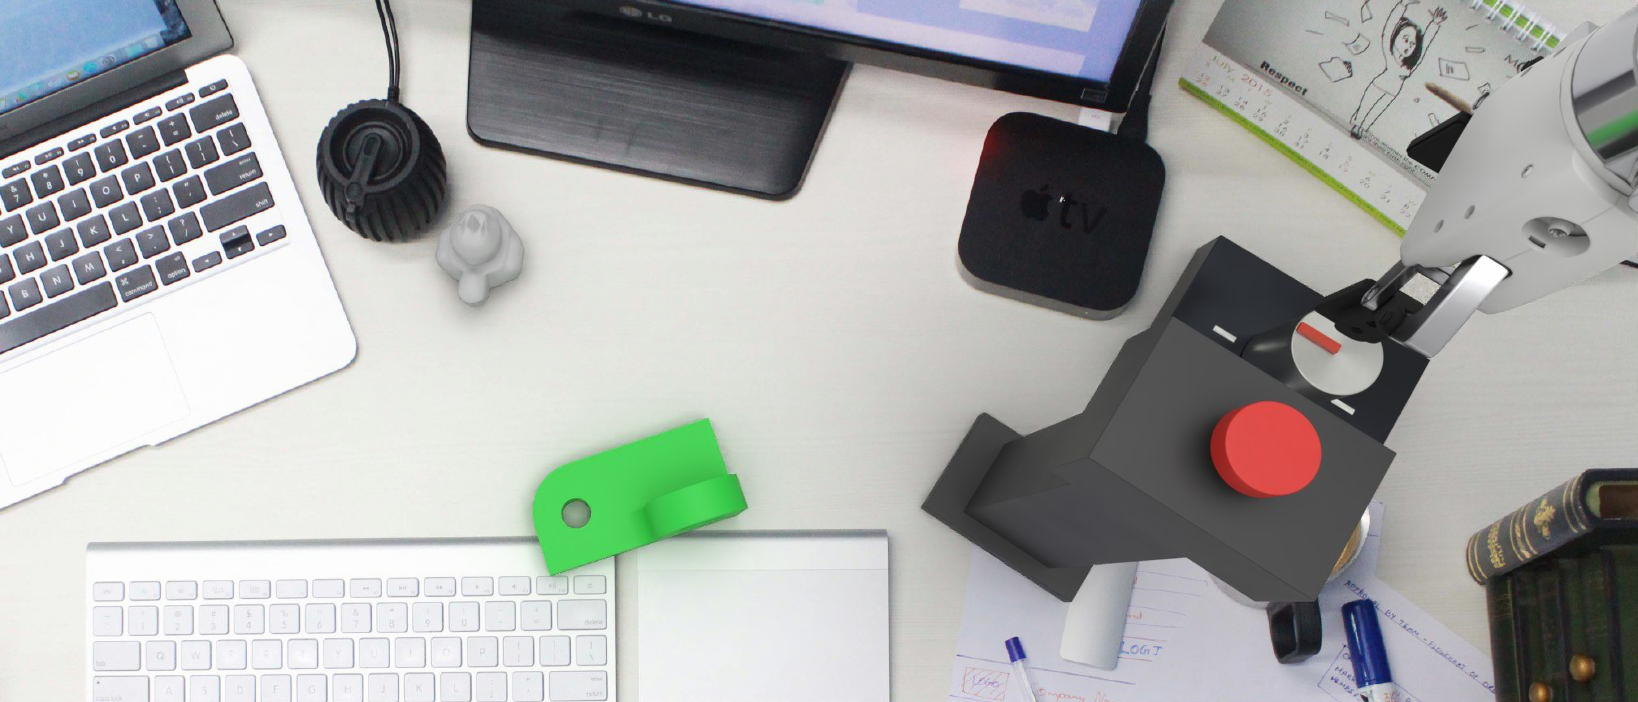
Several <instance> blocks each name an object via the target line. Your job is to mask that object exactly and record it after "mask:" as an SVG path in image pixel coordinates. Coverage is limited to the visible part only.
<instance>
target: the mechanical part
mask: <svg viewBox="0 0 1638 702" xmlns="http://www.w3.org/2000/svg"><path fill="white" fill-rule="evenodd" d="M728 471H729V470H728V469H727V466H726V463H725V460H724V458H723V455H722V452H721V449H720V445H719V442H718V440H717V437H716V434H715V431H714V429H713V426H712V423H711V420H710V417H706V418H703V419H700V420H696V421H694V422H693V421H692V422H691V423H688V424H687V423H686V424H685V425H681V426H679V427H676V428H672V429H669V430H666V431H663V432H660V433H657V434H653V435H650V436H647V437H645V438H641V439H638V440H635V441H631V442H629V443H626V444H623V445H620V446H617V447H614V448H610V449H608V450H605V451H601V452H598V453H595V454H591V455H589V456H586V457H583V458H580V459H577V460H574V461H570V462H568V463H564V464H562V465H560V466H558V467H557V468H555V469H553V470H552V471H551V472H549V473H548V474H547V475H546V477H545V478H543V480H542V481H541V482H540V484H539V486H538V488H537V489H536V492H535V494H534V496H533V497H534V498H533V502H532V511H531V512H532V521H533V526H534V529H535V533H536V536H537V539H538V542H539V545H540V549H541V552H542V555H543V558H544V561H545V564H546V567H547V571H548V574H549V576H550V577H553V576H557V575H560V574H563V573H566V572H569V571H573V570H575V569H578V568H581V567H584V566H586V565H590V564H593V563H597V562H599V560H600V561H602V559H603V560H605V558H606V559H609V558H611V556H612V557H614V556H615V557H616V556H618V555H620V554H624V553H627V552H630V551H632V550H636V549H638V548H642V547H645V546H648V545H651V544H654V543H657V542H660V541H663V540H666V539H669V538H672V537H675V536H679V535H682V534H684V533H687V532H690V531H693V530H696V529H700V528H702V527H703V528H704V527H705V526H708V525H711V524H715V523H718V522H721V521H724V520H727V519H730V518H732V517H736V516H739V515H740V514H742V513H743V512H744V511H746V510H748V509H749V506H748V502H747V499H746V497H745V494H744V491H743V489H742V486H741V483H740V480H739V478H738V474H737V473H731V474H729V472H728ZM574 502H581V503H584V504H585V505H586V506H587V507H588V508H589V510H590V518H589V520H588V522H587V523H586V524H585V525H584V526H582V527H577V528H574V527H571V526H569V525H567V524H566V523H565V521H564V518H563V514H564V510H565V509H566V507H567V506H568V505H569V504H571V503H574ZM608 557H609V558H608ZM559 573H560V574H559ZM556 574H557V575H556Z"/></svg>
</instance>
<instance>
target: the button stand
mask: <svg viewBox="0 0 1638 702" xmlns="http://www.w3.org/2000/svg"><path fill="white" fill-rule="evenodd" d="M1150 327H1151V326H1150ZM1150 327H1149V328H1147V329H1145V330H1143V331H1141V332H1138V333H1137V334H1135V335H1133V336H1131V337H1129V338H1127V339H1126V340H1125V342H1124V343H1123V345H1122V347H1121V348H1120V350H1119V352H1118V353H1117V355H1116V357H1115V358H1114V360H1113V362H1112V363H1111V365H1110V366H1109V368H1108V370H1107V371H1106V373H1105V375H1104V376H1103V378H1102V380H1101V381H1100V383H1099V384H1098V387H1097V388H1096V390H1095V391H1094V393H1093V395H1092V396H1091V397H1090V400H1089V401H1088V403H1087V405H1086V406H1085V407H1084V409H1083V411H1082V412H1081V413H1078V414H1075V415H1073V416H1071V417H1068V418H1066V419H1063V420H1061V421H1058V422H1055V423H1054V424H1051V425H1047V426H1045V427H1043V428H1041V429H1039V430H1036V431H1033V432H1031V433H1028V434H1026V435H1022V434H1020V433H1019V432H1017V431H1016V430H1015V429H1013V428H1011V427H1010V426H1008V425H1006V424H1005V423H1003V422H1002V421H1000V420H998V418H995V417H993V416H992V415H991V414H989V413H988V412H986V411H984V412H981V413H980V414H978V416H976V419H975V420H974V421H973V423H972V425H971V426H970V428H969V430H968V431H967V432H966V435H965V437H964V438H963V440H962V441H961V443H960V444H959V446H958V447H957V449H956V451H955V452H954V454H953V456H952V457H951V459H950V460H949V462H948V464H947V465H946V467H945V469H944V470H943V471H942V474H940V475H939V476H940V477H939V478H938V479H937V481H936V482H935V485H934V486H933V487H932V489H931V490H930V492H929V494H928V495H927V497H926V499H925V501H924V502H923V504H922V505H921V506H920V509H921V510H923V511H924V512H925V513H927V514H929V515H930V516H932V517H933V518H935V520H938V521H939V522H941V523H942V524H944V525H945V526H947V527H949V529H952V530H953V531H955V532H956V533H958V535H961V536H962V537H964V538H965V539H967V540H968V541H970V542H971V543H973V544H974V545H976V546H978V547H979V548H980V549H982V550H983V551H985V552H986V553H988V554H990V555H991V556H992V557H994V558H996V559H998V561H1000V562H1002V563H1003V564H1005V565H1007V566H1008V567H1009V568H1011V569H1013V570H1014V571H1016V572H1017V573H1018V574H1020V575H1021V576H1023V577H1025V579H1028V580H1030V581H1031V582H1032V583H1034V584H1036V585H1037V586H1038V587H1040V588H1042V589H1043V590H1044V591H1046V592H1048V594H1051V595H1052V596H1054V597H1055V598H1057V599H1058V600H1060V601H1061V602H1063V603H1073V601H1074V599H1075V597H1076V596H1077V594H1078V592H1079V590H1080V589H1081V587H1082V586H1083V584H1084V582H1085V581H1086V578H1087V577H1088V575H1089V573H1090V572H1091V570H1092V569H1093V567H1094V566H1098V565H1111V564H1123V563H1124V564H1125V563H1134V562H1135V563H1137V562H1149V561H1161V560H1162V561H1163V560H1174V559H1188V560H1189V561H1191V562H1192V563H1194V564H1195V565H1197V566H1199V567H1200V568H1202V569H1204V571H1206V572H1208V573H1209V574H1211V575H1213V576H1214V577H1216V578H1217V579H1219V580H1221V581H1222V582H1223V583H1225V584H1226V585H1228V586H1230V587H1231V588H1233V589H1235V590H1236V591H1238V592H1239V593H1241V595H1244V596H1245V597H1247V598H1248V599H1250V600H1251V601H1253V602H1256V603H1260V602H1261V603H1262V602H1263V603H1264V602H1265V603H1271V602H1272V603H1273V602H1274V603H1275V602H1276V603H1277V602H1278V603H1280V602H1284V603H1285V602H1287V603H1288V602H1289V603H1290V602H1293V603H1294V602H1302V603H1303V602H1307V603H1309V602H1310V603H1311V602H1312V603H1313V602H1316V601H1317V599H1318V597H1319V595H1320V594H1321V592H1322V591H1323V588H1324V587H1325V584H1326V582H1327V581H1328V579H1329V577H1330V575H1331V573H1332V572H1333V570H1334V568H1335V566H1336V565H1337V563H1338V561H1339V559H1340V558H1341V556H1342V554H1343V552H1344V550H1345V548H1346V546H1347V545H1348V543H1349V541H1350V540H1351V537H1352V536H1353V534H1354V532H1355V530H1356V529H1357V527H1358V525H1359V523H1360V522H1361V519H1362V517H1363V516H1364V514H1365V513H1366V510H1367V509H1368V507H1369V505H1370V503H1371V501H1372V499H1373V498H1374V496H1375V494H1376V493H1377V490H1378V488H1379V487H1380V485H1381V483H1382V481H1383V480H1384V478H1385V476H1386V474H1387V472H1388V471H1389V469H1390V467H1391V465H1392V463H1393V462H1394V460H1395V458H1396V457H1397V455H1398V454H1397V451H1394V450H1393V449H1391V448H1389V447H1388V446H1386V445H1385V444H1384V445H1383V444H1381V443H1380V442H1378V441H1376V440H1375V439H1373V438H1371V437H1370V436H1368V435H1367V434H1365V433H1363V432H1362V431H1360V430H1358V429H1357V428H1355V427H1353V426H1352V425H1350V424H1349V423H1347V422H1345V421H1344V420H1342V419H1340V418H1339V417H1337V416H1335V415H1334V414H1332V413H1331V412H1329V411H1327V410H1326V409H1324V408H1322V407H1321V406H1319V405H1318V404H1316V403H1314V402H1313V401H1311V400H1309V399H1308V398H1306V397H1304V396H1303V395H1301V394H1300V393H1298V392H1296V391H1295V390H1293V389H1291V388H1290V387H1288V386H1286V385H1285V384H1283V383H1282V382H1280V381H1278V380H1277V379H1275V378H1273V377H1272V376H1270V375H1268V374H1267V373H1265V372H1264V371H1262V370H1260V369H1259V368H1257V367H1255V366H1254V365H1252V364H1250V363H1249V362H1247V361H1246V360H1244V359H1242V358H1241V357H1239V356H1237V355H1236V354H1234V353H1233V352H1231V351H1229V350H1228V349H1226V348H1224V347H1223V346H1221V345H1219V344H1218V343H1216V342H1215V341H1213V340H1211V339H1210V338H1208V337H1206V336H1205V335H1203V334H1201V333H1200V332H1198V331H1197V330H1195V329H1193V328H1192V327H1190V326H1188V325H1187V324H1185V323H1183V322H1182V321H1180V320H1179V319H1177V318H1175V317H1173V316H1172V317H1170V318H1168V319H1166V320H1164V321H1162V322H1160V323H1158V324H1156V325H1154V326H1153V327H1151V328H1150ZM1261 401H1273V402H1279V403H1283V404H1286V405H1288V406H1290V407H1292V408H1294V409H1296V410H1297V411H1299V412H1300V413H1301V414H1303V415H1304V416H1305V417H1306V418H1307V419H1308V420H1309V422H1310V423H1311V424H1312V426H1313V427H1314V429H1315V431H1316V432H1317V435H1318V437H1319V440H1320V444H1321V463H1320V466H1319V469H1318V471H1317V474H1316V475H1315V477H1314V478H1313V480H1312V481H1311V482H1310V483H1309V484H1308V485H1307V486H1306V487H1304V488H1303V489H1301V490H1300V491H1297V492H1295V493H1292V494H1289V495H1283V496H1277V497H1270V498H1256V497H1251V496H1247V495H1245V494H1242V493H1240V492H1238V491H1237V490H1235V489H1234V488H1232V487H1231V486H1229V485H1228V484H1227V483H1226V482H1225V481H1224V480H1223V478H1222V477H1221V476H1220V475H1219V473H1218V472H1217V470H1216V468H1215V466H1214V463H1213V460H1212V456H1211V438H1212V434H1213V431H1214V429H1215V427H1216V425H1217V424H1218V422H1219V421H1220V420H1221V419H1222V418H1223V416H1225V415H1226V414H1227V413H1229V412H1230V411H1232V410H1234V409H1237V408H1239V407H1243V406H1246V405H1249V404H1252V403H1256V402H1261Z"/></svg>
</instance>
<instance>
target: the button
mask: <svg viewBox="0 0 1638 702" xmlns="http://www.w3.org/2000/svg"><path fill="white" fill-rule="evenodd" d="M1211 456H1212V460H1213V463H1214V466H1215V468H1216V470H1217V472H1218V473H1219V475H1220V476H1221V477H1222V478H1223V480H1224V481H1225V482H1226V483H1227V484H1228V485H1229V486H1231V487H1232V488H1234V489H1235V490H1237V491H1238V492H1240V493H1242V494H1245V495H1247V496H1251V497H1256V498H1270V497H1277V496H1283V495H1289V494H1292V493H1295V492H1297V491H1300V490H1301V489H1303V488H1304V487H1306V486H1307V485H1308V484H1309V483H1310V482H1311V481H1312V480H1313V478H1314V477H1315V475H1316V474H1317V471H1318V469H1319V466H1320V463H1321V444H1320V440H1319V437H1318V435H1317V432H1316V431H1315V429H1314V427H1313V426H1312V424H1311V423H1310V422H1309V420H1308V419H1307V418H1306V417H1305V416H1304V415H1303V414H1301V413H1300V412H1299V411H1297V410H1296V409H1294V408H1292V407H1290V406H1288V405H1286V404H1283V403H1279V402H1273V401H1261V402H1256V403H1252V404H1249V405H1246V406H1243V407H1239V408H1237V409H1234V410H1232V411H1230V412H1229V413H1227V414H1226V415H1225V416H1223V418H1222V419H1221V420H1220V421H1219V422H1218V424H1217V425H1216V427H1215V429H1214V431H1213V434H1212V438H1211Z"/></svg>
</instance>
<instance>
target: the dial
mask: <svg viewBox="0 0 1638 702" xmlns="http://www.w3.org/2000/svg"><path fill="white" fill-rule="evenodd" d="M1334 324H1335V323H1333V322H1332V321H1330V320H1328V319H1327V318H1325V317H1323V316H1322V315H1320V314H1318V313H1317V312H1316V311H1315V310H1314V311H1312V312H1309V313H1307V314H1305V315H1302V316H1300V317H1297V318H1295V319H1293V320H1290V321H1288V322H1285V323H1283V324H1281V325H1278V326H1276V327H1273V328H1271V329H1269V330H1266V331H1264V332H1261V333H1259V334H1258V335H1256V336H1255V337H1253V338H1252V339H1251V340H1250V341H1249V342H1248V344H1247V345H1246V347H1245V349H1244V351H1243V354H1242V357H1241V358H1242V359H1244V360H1246V361H1247V362H1249V363H1250V364H1252V365H1254V366H1255V367H1257V368H1259V369H1260V370H1262V371H1264V372H1265V373H1267V374H1268V375H1270V376H1272V377H1273V378H1275V379H1277V380H1278V381H1280V382H1282V383H1283V384H1285V385H1286V386H1288V387H1290V388H1291V389H1293V390H1295V391H1296V392H1298V393H1300V394H1301V395H1303V396H1304V397H1306V398H1308V399H1309V400H1311V401H1313V402H1314V403H1316V404H1321V403H1325V402H1328V401H1332V400H1335V399H1339V398H1343V397H1346V396H1350V395H1353V394H1357V393H1359V392H1362V391H1364V390H1365V389H1367V388H1368V387H1369V386H1371V385H1372V384H1373V383H1374V381H1375V380H1376V379H1377V377H1378V376H1379V374H1380V372H1381V369H1382V365H1383V348H1382V344H1381V342H1379V343H1376V344H1371V343H1368V342H1359V341H1355V340H1352V339H1350V338H1348V337H1347V336H1345V335H1343V334H1342V333H1340V332H1339V331H1337V330H1336V329H1335V327H1334Z"/></svg>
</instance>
